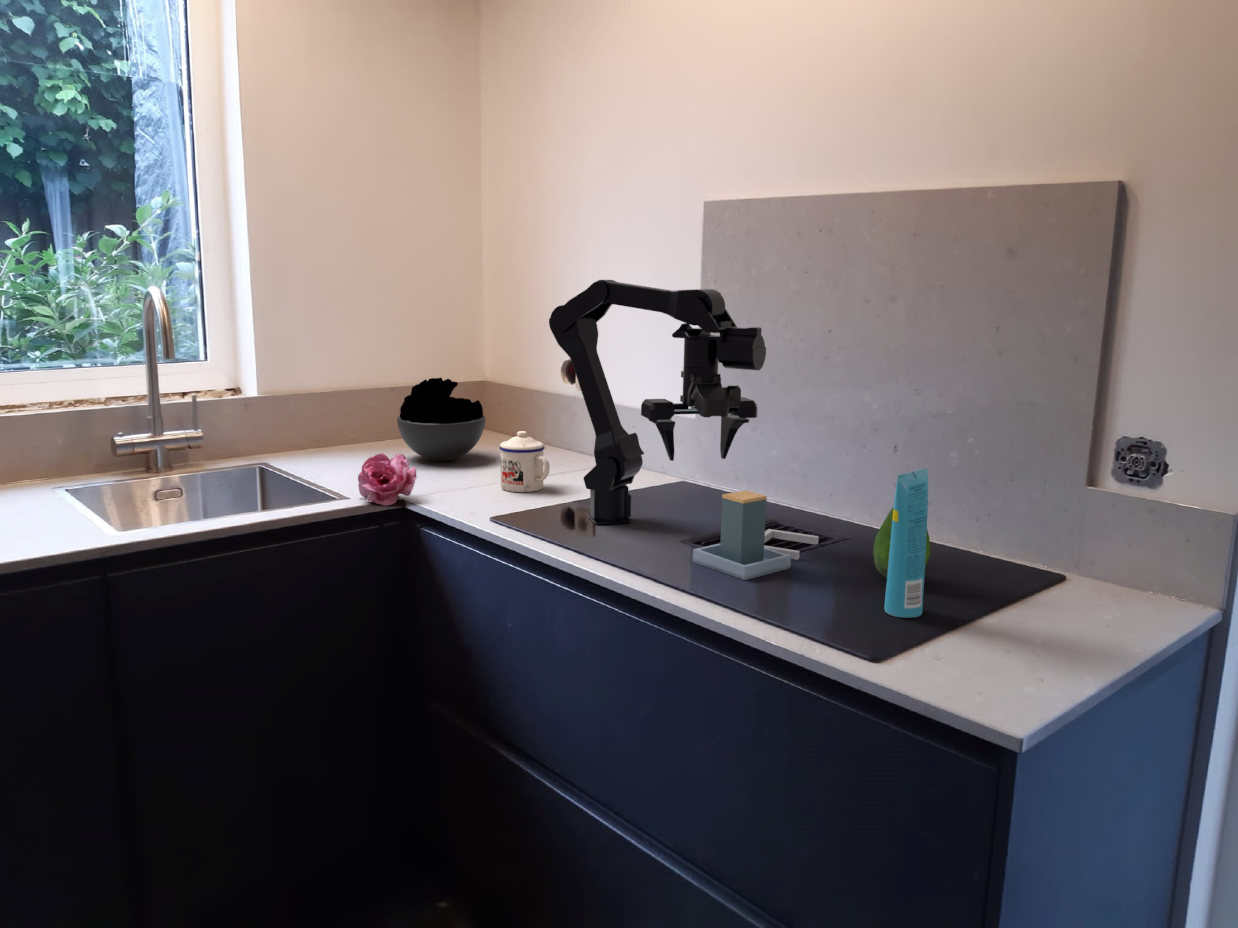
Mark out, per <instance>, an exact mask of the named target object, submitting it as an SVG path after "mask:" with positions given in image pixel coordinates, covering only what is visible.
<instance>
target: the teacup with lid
mask: <svg viewBox="0 0 1238 928" xmlns="http://www.w3.org/2000/svg"><path fill="white" fill-rule="evenodd" d="M516 435H517V436H513V437H511V438H510V439H508V440H506V441H502V442H501V443H500V444H499V445H500V446H499V450H500V488H501V489H502V490H504V491H507V492H512V493H532V492H538V491H541V490H542V489H543V488H544V480H546V479H547V477H548V476H549V474H550V471H551V469H550V468H551V466H550V462H549V460H548V459H547V458H546V457H545V456H544V450H545V445H544V443H543V442H541V441H538V440H536V439H535V438H532V437H531V436H528V432H527V431H525V430H524V431H523V430H521V431H517V433H516Z"/></svg>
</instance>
